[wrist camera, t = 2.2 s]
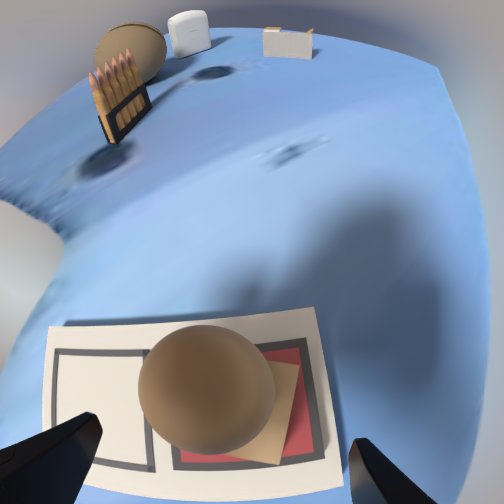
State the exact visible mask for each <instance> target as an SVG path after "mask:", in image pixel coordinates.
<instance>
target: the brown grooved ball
mask: <svg viewBox="0 0 504 504" xmlns="http://www.w3.org/2000/svg"><path fill="white" fill-rule="evenodd" d="M127 48H129V49H130V51H131V52H132V54H133V57H134V60H135V62H136V66H137V68H138V70H139V73H140V76H141V80H142V83H146V82H148V81H149V80H151V79H152V78H153V77H154V76H155V75H156V74H157V73H158V72H159V71H160V69H161V68H162V66H163V64H164V62H165V59H166V54H167V46H166V41H165V38H164V36H163V35H162V33H161V32H160V31H159V30H158V29H157V28H155V27H153V26H151V25H149V24H146V23H141V22H129V23H124V24H123V25H118V26H116V27H114V28H113V29H111V30H110V31H109V32H107V34H106V35H105V36H104V37H103V38H102V39H101V41H100V42H99V44H98V46H97V48H96V51H95V57H94V63H95V68H96V71H97V68H98V66H99V67H100V68H101V69H102V70H103V72H104V73H105V62H106V61H107V62H108V63H109V64H110V66H111V67H112V69H113V66H112V58H113V57H115V58H116V59H117V61H118V62H119V64H120V60H119V55H120V52H122V53H123V54H124V56H125V58H126V50H127ZM126 60H127V58H126ZM120 67H121V66H120ZM113 72H114V71H113ZM105 76H106V73H105ZM106 78H107V77H106Z"/></svg>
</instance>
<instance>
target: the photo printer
mask: <svg viewBox="0 0 504 504" xmlns="http://www.w3.org/2000/svg"><path fill="white" fill-rule="evenodd" d="M168 28H169V33H170V38H171V43H172V48H173V53H174V56H175V58H176V59H181V58H184V57H186V56H189V55H192V54H195V53H198V52H201V51H204V50H207V49H210V48H211V40H210V33H209V26H208V20H207V15H206V13H205V12H204V11H200V10H191V11H186V12H182V13H180V14H177V15H175V16H174V17H172V18H170V19H169V20H168Z"/></svg>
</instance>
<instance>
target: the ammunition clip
mask: <svg viewBox="0 0 504 504" xmlns="http://www.w3.org/2000/svg"><path fill="white" fill-rule="evenodd" d="M126 58H127V60H126ZM126 58H125V56H124V54H123V53H122V52H120V55H119V60H120V64H119V62H118V61H117V59H116V58H115V57H113V58H112V66H113V69H112V67H111V66H110V64H109V63H108V62H107V61H106V62H105V73H106V76H105V73H104V72H103V70H102V69H101V68H100V67H99V66H98V68H97V76H98V81H99V83H98V81H97V79H96V77H95V76H94V74H93V73H92V72H90V73H89V81H90V86H91V89H92V93H93V96H94V102H95V105H96V107H97V110H98V113H99V116H98V118H99V121H100V124H101V126H102V129H103V132H104V134H105V137H106V140H107V142H108V144H118V143H119V142H120V141H121V140H122V139H123V138H124V136H125V135H126V134H127V133H128V132H129V131H130V130H131V129H132V128H133V127H134V126H135V125H136V124H137V122H138V121H139V120H140V119H141V118H142V117H143V116H144V115H145V114H146V113H147V112H148V111H149V110H150V109H151V108H152V106H151V102H150V99H149V96H148V93H147V90H146V87H145V83H142V80H141V76H140V73H139V70H138V68H137V66H136V62H135V60H134V57H133V54H132V52H131V51H130V49H129V48H127V50H126ZM120 66H121V67H120ZM113 71H114V72H113ZM106 77H107V78H106ZM99 84H100V85H99Z"/></svg>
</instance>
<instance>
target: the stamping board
mask: <svg viewBox="0 0 504 504" xmlns="http://www.w3.org/2000/svg"><path fill="white" fill-rule="evenodd" d="M194 325H213V326H220V327H223V328H227V329H230V330H232V331H235V332H237V333H238V334H240V335H242V336H244V337H245V338H246V339H248V340H249V341H250V342H252V343H253V344H261V343H269V342H276V341H284V340H291V339H298V338H304V337H306V339H307V345H308V351H309V356H310V362H311V368H312V374H313V380H314V386H315V392H316V398H317V405H318V411H319V418H320V425H321V431H322V438H323V446H324V453H325V459H321V460H316V461H310V462H305V463H299V464H293V465H286V466H278V467H270V468H261V469H249V470H233V471H179V470H173V463H172V453H171V444H170V443H168V442H167V441H165V440H164V439H163V438H162V437H160V436H159V435H158V434H157V433H156V432H155V430H154V429H153V428H152V427H151V425H150V424H149V422H148V421H147V419H146V417H145V415H144V413H143V411H142V408H141V405H140V402H139V396H138V380H139V374H140V370H141V367H142V365H143V362H144V360H145V358H146V356H147V355H148V353H149V352H150V351H151V349H152V348H153V347H154V346H155V345H156V344H157V343H158V342H159V341H160V340H161V339H162V338H164V337H165V336H167V335H168V334H170V333H172V332H174V331H176V330H178V329H181V328H184V327H188V326H194ZM84 412H91V413H94V414H96V415H97V417H98V419H99V421H100V424H101V426H102V428H103V434H102V437H101V440H100V443H99V446H98V449H97V452H96V455H95V458H94V460H93V463H92V465H91V468H90V470H89V472H88V474H87V476H86V478H85V480H84V483H83V484H86V485H90V486H94V487H98V488H102V489H106V490H111V491H116V492H121V493H126V494H132V495H138V496H145V497H152V498H161V499H171V500H184V501H248V500H261V499H271V498H280V497H288V496H295V495H301V494H307V493H312V492H317V491H322V490H327V489H331V488H336V487H340V486H344V483H343V475H342V467H341V459H340V452H339V444H338V437H337V431H336V424H335V418H334V411H333V405H332V399H331V393H330V387H329V381H328V376H327V370H326V365H325V359H324V354H323V349H322V344H321V338H320V333H319V328H318V324H317V319H316V314H315V309H314V307H307V308H300V309H293V310H286V311H279V312H271V313H263V314H255V315H246V316H237V317H228V318H218V319H207V320H196V321H184V322H170V323H155V324H138V325H115V326H73V327H49V331H48V338H47V346H46V355H45V365H44V379H43V402H42V426H43V432H44V431H46V430H48V429H50V428H52V427H55V426H57V425H59V424H61V423H63V422H65V421H67V420H69V419H72V418H74V417H76V416H78V415H80V414H82V413H84Z"/></svg>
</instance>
